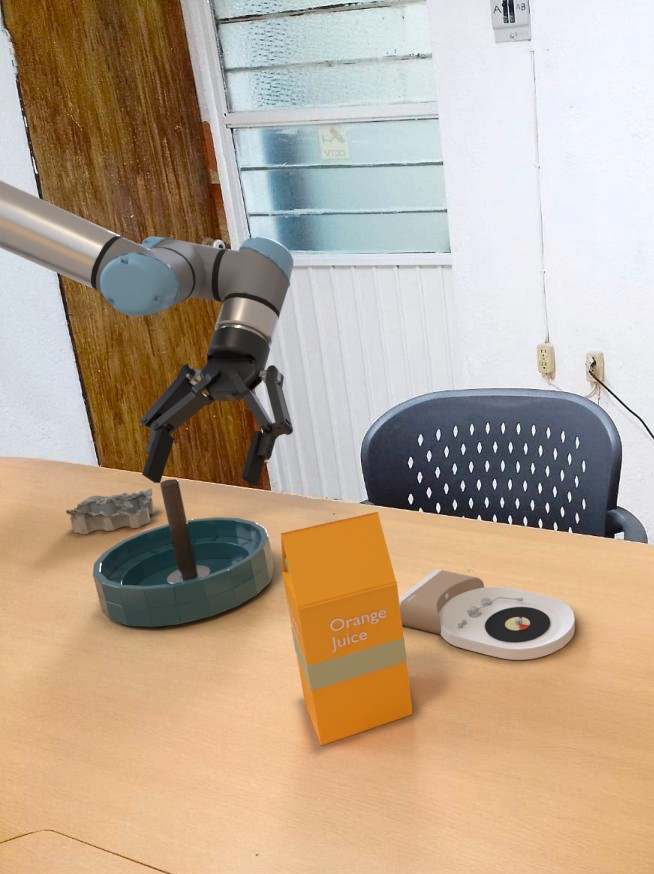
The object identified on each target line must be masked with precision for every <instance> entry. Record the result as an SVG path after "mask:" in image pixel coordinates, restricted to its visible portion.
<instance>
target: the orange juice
mask: <svg viewBox="0 0 654 874" xmlns="http://www.w3.org/2000/svg"><path fill="white" fill-rule="evenodd" d="M280 540H281V541H280V542H281V562H282V572H281V574H282V579H283V585H284V591H285V597H286V603H287V608H288V614H289V620H290V624H291V627H290V629H291V633H292V639H293V640H292V641H293V646H294V650H295V654H296V660H297V666H298V671H299V675H300V676H299V678H300V682H301V683H300V684H301V688H302V694H303V699H304V700H303V701H304V704H305V706H306V707H305V708H306V709H307V711H308V715H309V717H310V720H311V723H312V725H313V728H314V730H315V733H316V736H317V738H318V741H319V744H320V746H325V745H327V744H330V743H333V742H336V741H339V740H342V739H344V738H348V737H351V736H354V735H357V734H359V733H363V732H365V731H367V730H371V729H374V728H378V727H380V726H383V725H386V724H389V723H391V722H394V721H398V720H400V719H403V718H406V717H409V716H411V715H413V714H414V712H413V705H412V704H413V703H412V697H411V687H410V681H409V673H408V672H409V671H408V663H407V662H408V660H407V659H408V658H407V650H406V642H405V637H404V631H403V630H404V629H403V625H402V621H401V613H400V605H399V597H400V596H399V590H398V583H397V579H396V576H395V572H394V568H393V564H392V561H391V557H390V556H391V555H390V553H389V549H388V547H387V546H388V545H387V541H386V538H385V535H384V530H383V527H382V522H381V520H380V515H379V511H375V512H371V513H366V514H361V515H357V516H353V517H348V518H344V519H339V520H335V521H331V522H326V523H321V524H316V525H313V526H312V525H311V526H308V527H302V528H299V529H295V530H290V531H286V532H285V531H284V532H281V533H280Z"/></svg>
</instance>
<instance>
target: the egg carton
mask: <svg viewBox="0 0 654 874" xmlns="http://www.w3.org/2000/svg"><path fill="white" fill-rule="evenodd" d="M76 505H77V506H76V507H74V508H73V509H66V510H65V513H66V515H68V516H70V522H71V527H72V529H73V530H72V531H73V533H74V534H77V533H78V534H80V535H88V534H91V533H92V532H94V531H99V530H104V531H106V532H111V531H115V530H117V529H120V528H124V527H128V528H129V527H130V528H131V529H138V528H140V527H142V526H145V525H147V524H149V523H150V522H151V517H150V515H153V514H154V513H155V512H156V510H155V506H154V501H153V488H149V489H147V490H144V491H142V490H141V491H138V492H131V493H130V494H129V493H127V492H123V493H121V494H112V495H109V496H107V495H105V496H104V495H92V496H89V497H87V498H85V499H84V500H82V501H80V503H77V504H76Z"/></svg>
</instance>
